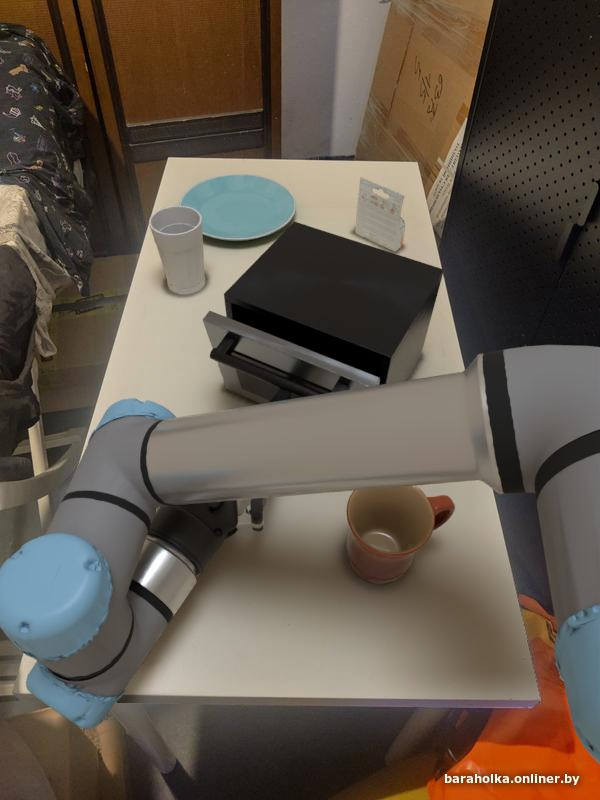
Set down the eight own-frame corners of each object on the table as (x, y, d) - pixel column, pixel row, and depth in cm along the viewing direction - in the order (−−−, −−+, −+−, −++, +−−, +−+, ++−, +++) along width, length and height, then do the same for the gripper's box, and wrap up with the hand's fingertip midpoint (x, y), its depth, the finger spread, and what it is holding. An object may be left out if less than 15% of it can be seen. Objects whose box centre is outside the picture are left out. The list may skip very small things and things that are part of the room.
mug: (355, 604, 59) (366, 566, 51) (328, 532, 64) (334, 488, 56) (455, 572, 61) (480, 531, 53) (420, 505, 67) (439, 459, 59)
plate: (313, 236, 102) (314, 223, 100) (197, 261, 96) (195, 248, 94) (273, 178, 115) (272, 165, 113) (168, 198, 109) (166, 184, 107)
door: (357, 471, 70) (361, 412, 57) (214, 406, 76) (187, 339, 63) (373, 441, 72) (380, 377, 59) (232, 380, 78) (209, 310, 65)
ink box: (361, 227, 104) (368, 170, 95) (402, 247, 100) (413, 189, 91) (352, 234, 103) (358, 176, 94) (393, 254, 99) (404, 195, 90)
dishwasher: (373, 441, 72) (391, 357, 60) (233, 380, 79) (223, 293, 66) (420, 355, 83) (444, 269, 70) (293, 308, 89) (294, 221, 77)
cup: (160, 272, 94) (146, 209, 85) (206, 265, 96) (197, 202, 87) (165, 301, 89) (151, 238, 80) (213, 293, 91) (205, 230, 82)
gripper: (125, 542, 59) (242, 396, 72) (227, 601, 55) (330, 435, 69) (108, 509, 53) (238, 357, 67) (220, 572, 49) (334, 397, 63)
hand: (285, 397), depth 68 cm, fingers closed
